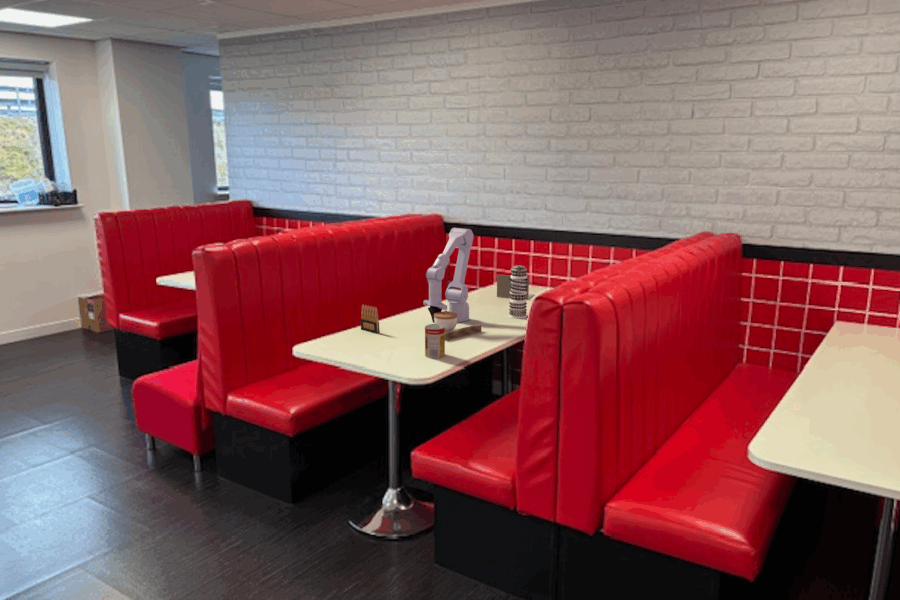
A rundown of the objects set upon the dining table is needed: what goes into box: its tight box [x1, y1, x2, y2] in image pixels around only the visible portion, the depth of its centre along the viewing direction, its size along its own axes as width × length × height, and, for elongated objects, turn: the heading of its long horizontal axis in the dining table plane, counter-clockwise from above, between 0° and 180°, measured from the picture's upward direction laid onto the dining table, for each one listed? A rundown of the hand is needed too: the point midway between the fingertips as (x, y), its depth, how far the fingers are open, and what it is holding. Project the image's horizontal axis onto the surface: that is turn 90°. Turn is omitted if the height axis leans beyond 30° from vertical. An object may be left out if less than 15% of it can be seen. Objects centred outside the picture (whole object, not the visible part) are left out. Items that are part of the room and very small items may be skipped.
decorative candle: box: [508, 264, 528, 319], centre depth 335 cm, size 9×9×25 cm
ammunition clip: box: [360, 303, 381, 334], centre depth 309 cm, size 11×2×12 cm, turn 48°
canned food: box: [424, 323, 446, 359], centre depth 274 cm, size 8×8×12 cm
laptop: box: [496, 274, 535, 301], centre depth 381 cm, size 18×12×13 cm
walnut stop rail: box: [445, 323, 483, 341], centre depth 303 cm, size 22×2×3 cm, turn 132°
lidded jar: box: [434, 309, 458, 332], centre depth 310 cm, size 11×11×9 cm
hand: (435, 322), depth 316 cm, fingers closed
